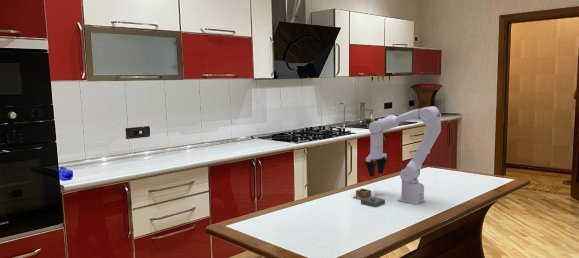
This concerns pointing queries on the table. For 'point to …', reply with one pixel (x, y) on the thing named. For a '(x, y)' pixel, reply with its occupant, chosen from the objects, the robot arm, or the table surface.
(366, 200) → the vise block
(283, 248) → the table surface
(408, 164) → the robot arm
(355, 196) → the mat
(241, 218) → the table surface
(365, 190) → the brown wooden box
